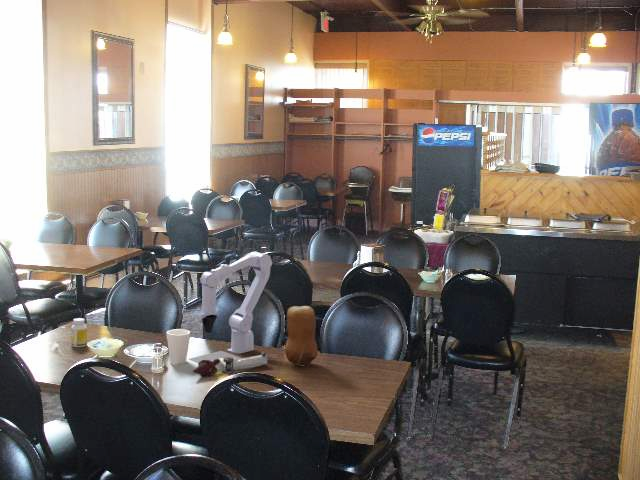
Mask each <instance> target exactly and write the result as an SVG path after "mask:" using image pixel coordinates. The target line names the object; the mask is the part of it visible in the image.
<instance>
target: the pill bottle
mask: <svg viewBox="0 0 640 480" xmlns="http://www.w3.org/2000/svg"><path fill="white" fill-rule="evenodd" d="M85 321H86V320H85V318H82V317H78V318H73V320H72V323H73V324H72V325H71V327H70V329H71V330H70V331H71V337H70V338H71V341H70V342H71V346H72V347H74V348H83V347H86V346H87V345H88V326H87V324H85Z"/></svg>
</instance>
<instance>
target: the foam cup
mask: <svg viewBox="0 0 640 480" xmlns="http://www.w3.org/2000/svg"><path fill="white" fill-rule="evenodd" d="M166 339H167V341H166V342H167V345H168V356H169V362H170V365H172V366H177V365H182V364H185V363H186V362H187V360H188V357H187V356H188V351H189V345H190V339H191V332H190V330H189V329H188V330H187V329H184V328H176V329H175V328H174V329H170V330H166Z"/></svg>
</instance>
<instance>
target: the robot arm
mask: <svg viewBox="0 0 640 480" xmlns="http://www.w3.org/2000/svg"><path fill="white" fill-rule="evenodd" d="M272 265H273V261H272V258H271V256H270V255H269V254H266V253H261V252H258V251H255V250H254V251H251V252H249V253H247V254H246V255H244V256H243V257H241V258H240V259H238V260H236V261H235V262H232V263H231V264H227V263H226V264H223V263H221V264H220V265H219V267H217V268H215V269H214V268H213V269H211V270H210V271H204V272H203V273H202V275H201V277H200V278H199V282H200V284H201V289H202V290H201V293H202V296H201V297H202V298H201V311H200V312H199V313H197V317H196V318H197V320H201V321H202V322H201V323H202V324H203V327H204V328H203V329H204V331H205V333H207V334H211V333H212V332H213V331H212V330H213V327H214V323H215V321H216V320H217V318H218V315H217V314H219V313H220V312H221V310H220V307H217V306H216V305H217V286H218V285H219V284H220V282H222V281H226V280H227V279H229V278H231V277H232V276H233V273H235V272H236V271H239V270H241V269H244V268H247V267H252V269H253V271H254V274H255V277H254V278H253V280H252V283H251V284H250V287H249V289H248V291H247V292H246V295H245V297H244V300H243V302H242V303H241V305H240V307H239V308H237V309H236V310H235V311H234V313H233V314H231V316H230V317H229V319H228V325H229V326H230V328H231V329H230V330H231V338H230V339H231V342H230V344H231V345H230V348H227V349H226V350H227V351H229V352H232V353H236V354H242V353H247V352H251V351H255V349H254V339H255V337H254V333H253V331H252V330H251V329H252V323H253V321H254V316H253V311H254V309H255V307H256V305H257V303H258V301H259V300H260V297H261V295H262V292H263V290H264V288H265V287H266V285H267V283H268V281H269V279H270V276H271V267H272Z"/></svg>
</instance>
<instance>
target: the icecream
mask: <svg viewBox="0 0 640 480" xmlns="http://www.w3.org/2000/svg"><path fill="white" fill-rule="evenodd" d="M219 363H220V360H219V359H215V360H214V361H213V362H212V361H210V360H202V361H200V362H199V363H197V364H198V365H197V367H195V368H194V369H193V370H192V373H194V374H197V375H201V376H205V377H208V378H209V377H210V376H213V375H214V373H215V372H217V371H218V370H217V368H216V367H215V365H217V364H219Z"/></svg>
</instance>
